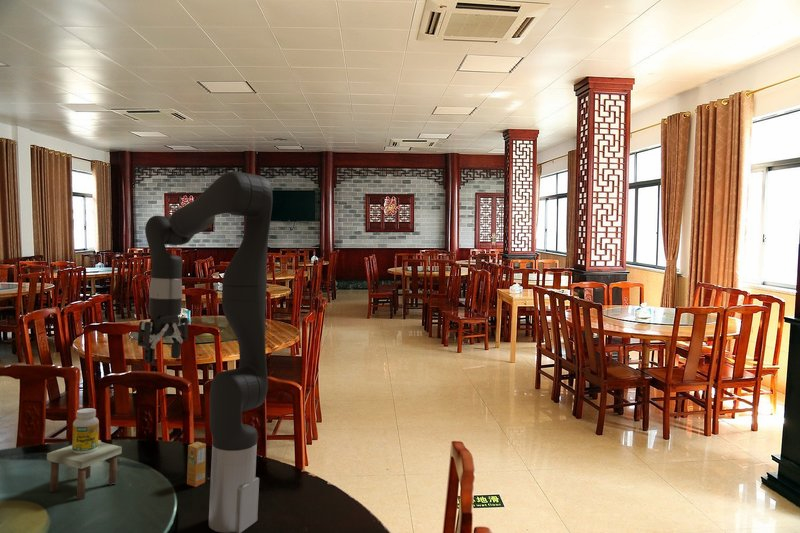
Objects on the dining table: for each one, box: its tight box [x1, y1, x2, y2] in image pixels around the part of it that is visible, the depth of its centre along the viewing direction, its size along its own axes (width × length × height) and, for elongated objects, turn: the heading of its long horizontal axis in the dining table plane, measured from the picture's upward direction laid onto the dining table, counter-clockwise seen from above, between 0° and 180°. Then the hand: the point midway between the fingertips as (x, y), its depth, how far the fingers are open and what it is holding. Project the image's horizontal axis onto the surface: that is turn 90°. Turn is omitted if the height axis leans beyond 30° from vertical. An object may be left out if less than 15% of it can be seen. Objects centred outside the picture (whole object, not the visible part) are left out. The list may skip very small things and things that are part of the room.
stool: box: [46, 441, 123, 501], centre depth 130 cm, size 11×11×9 cm
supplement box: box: [186, 441, 207, 488], centre depth 135 cm, size 3×3×10 cm
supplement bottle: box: [71, 407, 100, 454], centre depth 129 cm, size 5×5×10 cm
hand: (162, 360), depth 136 cm, fingers open, 8 cm apart
